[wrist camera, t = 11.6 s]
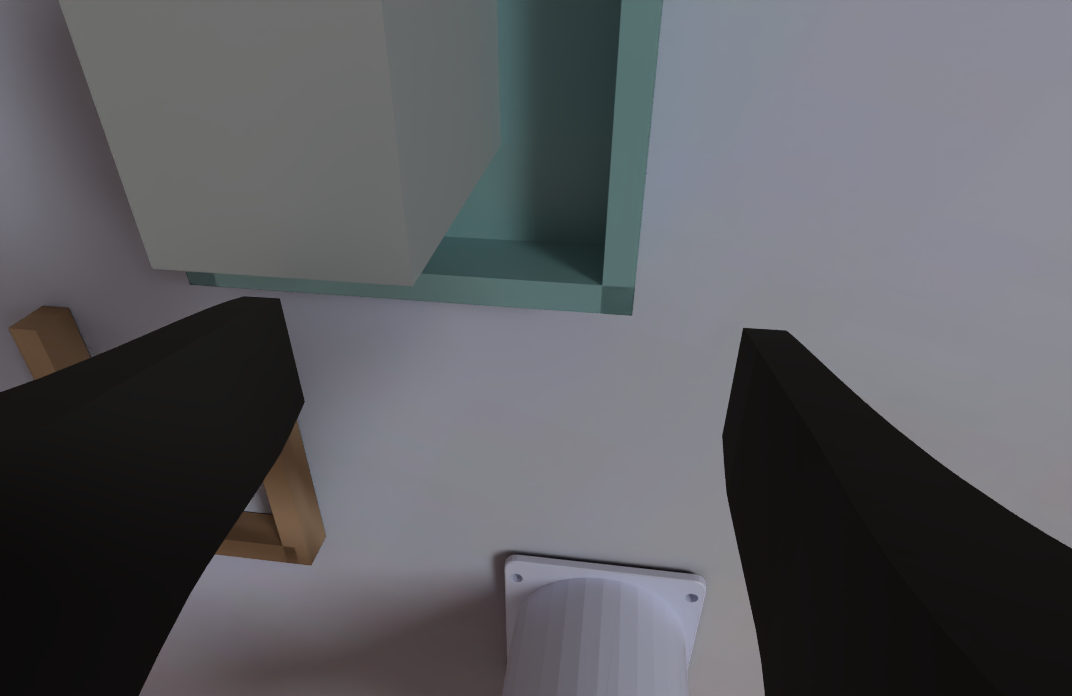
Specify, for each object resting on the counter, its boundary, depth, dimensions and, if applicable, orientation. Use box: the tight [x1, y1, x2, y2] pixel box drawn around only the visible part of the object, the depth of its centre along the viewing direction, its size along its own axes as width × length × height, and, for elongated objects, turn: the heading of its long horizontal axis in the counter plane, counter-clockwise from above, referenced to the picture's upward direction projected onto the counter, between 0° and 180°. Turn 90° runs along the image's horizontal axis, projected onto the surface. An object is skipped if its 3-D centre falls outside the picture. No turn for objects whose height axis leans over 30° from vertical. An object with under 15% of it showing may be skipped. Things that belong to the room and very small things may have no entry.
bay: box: [9, 306, 326, 565], centre depth 25 cm, size 10×8×2 cm
